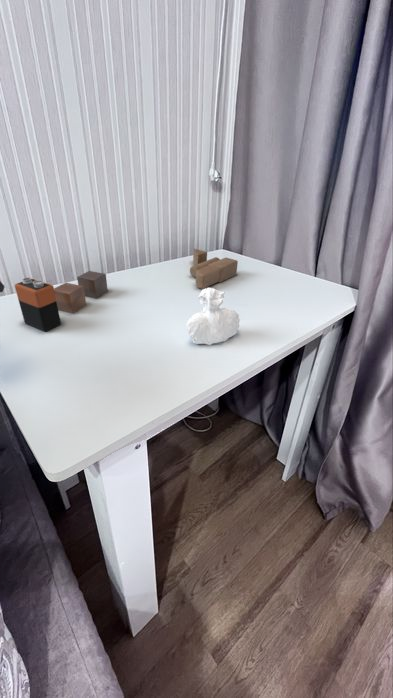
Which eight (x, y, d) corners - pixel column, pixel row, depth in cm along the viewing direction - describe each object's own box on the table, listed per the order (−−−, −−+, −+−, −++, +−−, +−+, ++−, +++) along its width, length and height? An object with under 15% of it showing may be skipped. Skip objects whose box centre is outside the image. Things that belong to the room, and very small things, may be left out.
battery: (45, 333, 68) (34, 287, 63) (23, 324, 71) (11, 279, 66) (62, 324, 71) (53, 280, 66) (41, 316, 74) (30, 273, 69)
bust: (233, 339, 73) (221, 290, 74) (251, 334, 66) (238, 280, 67) (184, 351, 69) (171, 298, 69) (198, 346, 62) (183, 288, 62)
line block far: (96, 299, 83) (94, 280, 80) (79, 295, 84) (76, 276, 82) (107, 292, 87) (105, 273, 84) (91, 288, 88) (89, 270, 86)
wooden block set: (240, 256, 99) (204, 271, 87) (238, 274, 102) (203, 291, 90) (195, 244, 107) (157, 257, 95) (195, 261, 110) (157, 275, 98)
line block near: (73, 314, 76) (69, 293, 73) (55, 309, 77) (51, 289, 74) (86, 305, 80) (83, 286, 77) (69, 301, 81) (65, 282, 78)
